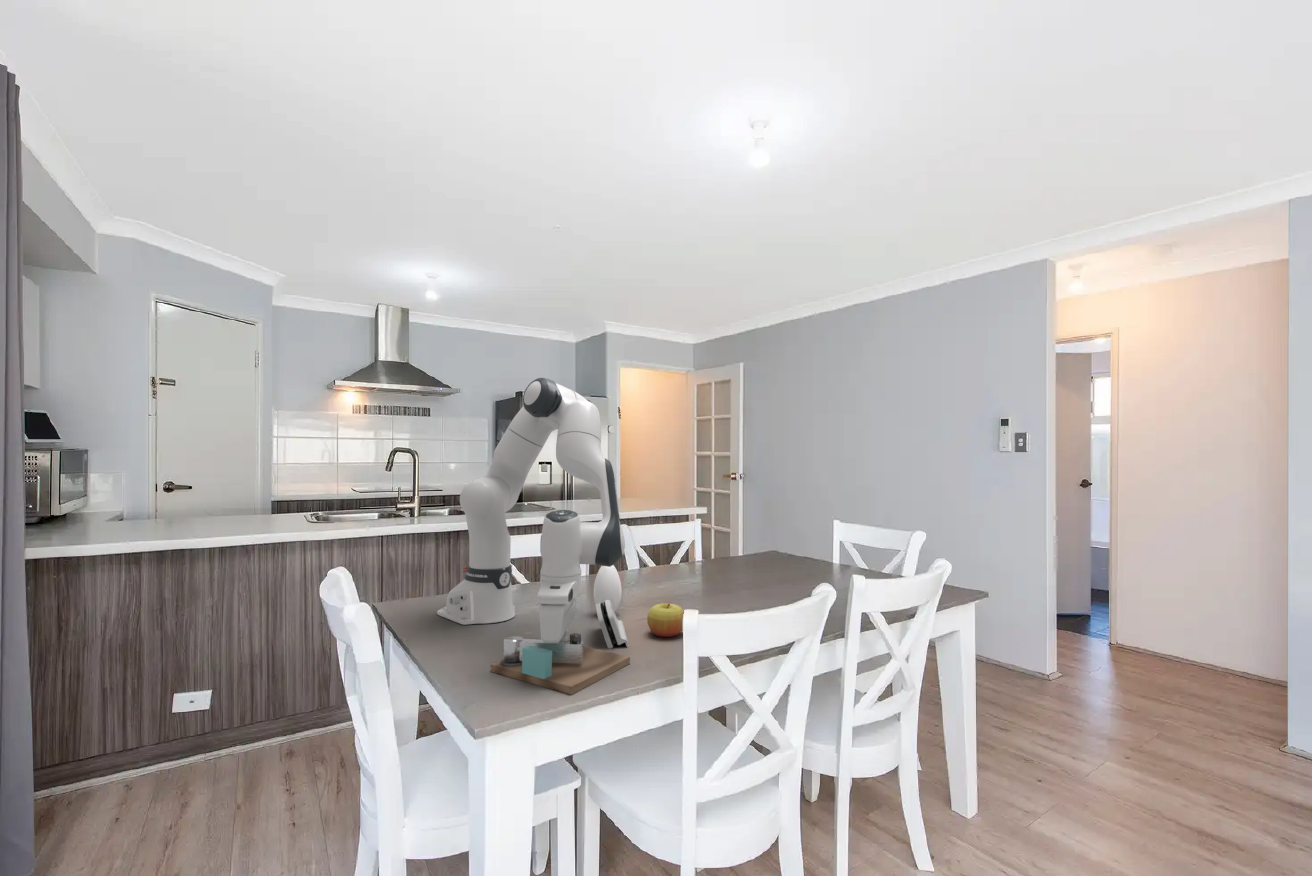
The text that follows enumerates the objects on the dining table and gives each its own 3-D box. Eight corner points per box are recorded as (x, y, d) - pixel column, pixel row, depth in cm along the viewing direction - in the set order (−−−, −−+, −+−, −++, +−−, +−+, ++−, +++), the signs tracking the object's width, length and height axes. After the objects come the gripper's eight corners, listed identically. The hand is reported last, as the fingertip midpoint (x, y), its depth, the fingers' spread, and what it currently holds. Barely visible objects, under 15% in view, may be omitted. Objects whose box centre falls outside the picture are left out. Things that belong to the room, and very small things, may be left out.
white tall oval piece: (588, 613, 173) (589, 550, 173) (611, 609, 177) (612, 548, 178) (602, 620, 166) (603, 554, 167) (626, 616, 171) (627, 552, 171)
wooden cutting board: (490, 671, 128) (490, 662, 128) (553, 645, 145) (553, 637, 145) (571, 694, 116) (571, 685, 116) (629, 663, 133) (629, 655, 134)
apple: (683, 641, 149) (684, 609, 149) (644, 639, 150) (644, 607, 151) (686, 629, 159) (686, 599, 159) (649, 627, 160) (650, 597, 160)
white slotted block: (629, 647, 144) (615, 608, 144) (610, 655, 143) (596, 615, 143) (624, 626, 161) (611, 591, 160) (607, 633, 160) (594, 598, 160)
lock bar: (500, 661, 128) (501, 634, 128) (507, 655, 132) (507, 629, 132) (580, 665, 126) (580, 638, 126) (584, 658, 130) (584, 632, 130)
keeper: (521, 672, 123) (522, 648, 123) (529, 669, 125) (529, 645, 125) (544, 679, 120) (544, 653, 120) (551, 675, 122) (552, 650, 122)
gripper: (556, 575, 142) (555, 634, 142) (534, 597, 121) (533, 666, 121) (583, 576, 142) (582, 635, 141) (566, 598, 121) (565, 667, 121)
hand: (559, 650), depth 131 cm, fingers closed
